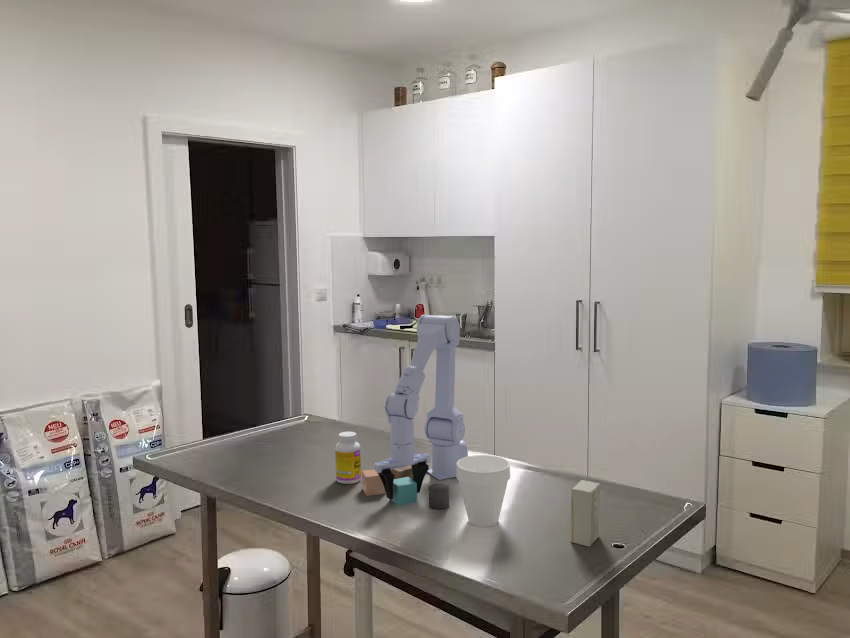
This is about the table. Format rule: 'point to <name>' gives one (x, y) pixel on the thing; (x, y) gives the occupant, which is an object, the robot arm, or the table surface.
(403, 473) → the walnut cube
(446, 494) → the dark grey cylinder
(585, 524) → the skincare box
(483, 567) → the table surface
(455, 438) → the robot arm
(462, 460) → the cup
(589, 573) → the table surface
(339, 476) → the supplement bottle
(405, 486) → the teal cube
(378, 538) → the table surface
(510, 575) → the table surface
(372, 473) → the terracotta cube
